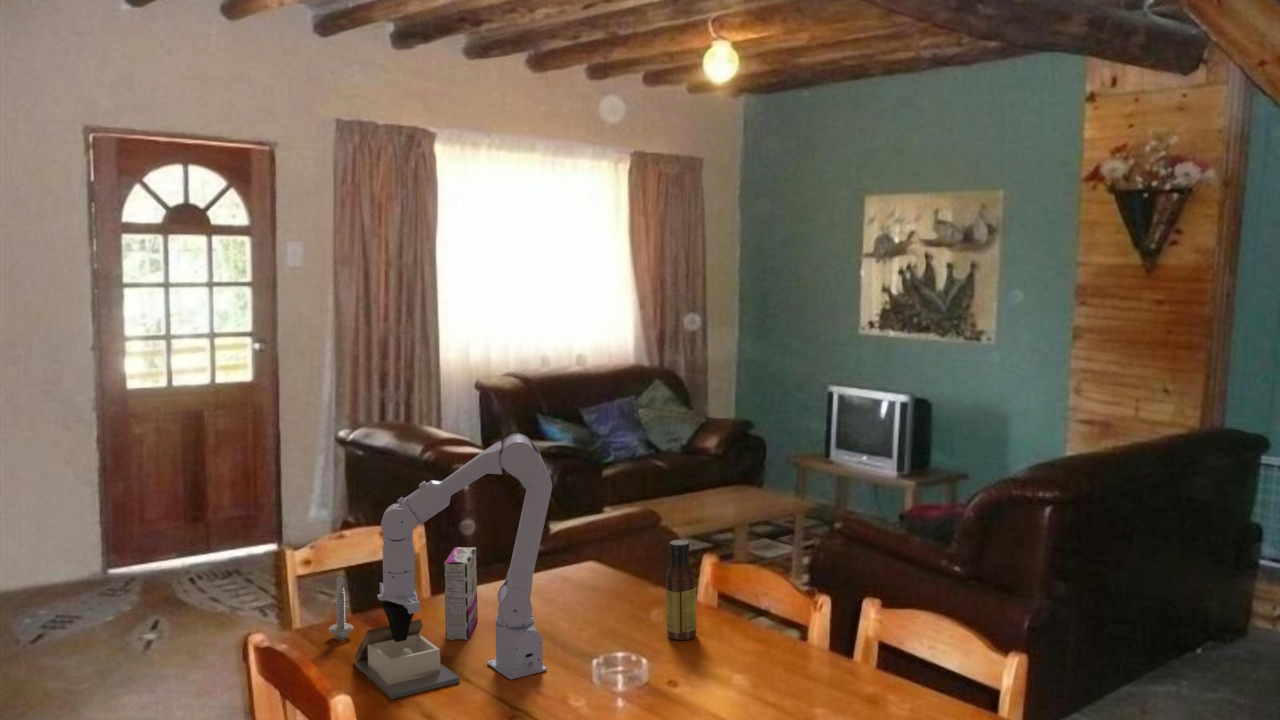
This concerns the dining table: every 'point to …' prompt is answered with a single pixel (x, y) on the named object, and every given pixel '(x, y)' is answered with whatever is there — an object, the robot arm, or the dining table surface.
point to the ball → (404, 652)
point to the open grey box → (403, 659)
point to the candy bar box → (460, 593)
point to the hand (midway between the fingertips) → (400, 640)
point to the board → (410, 681)
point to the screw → (340, 613)
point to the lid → (382, 637)
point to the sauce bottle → (680, 593)
